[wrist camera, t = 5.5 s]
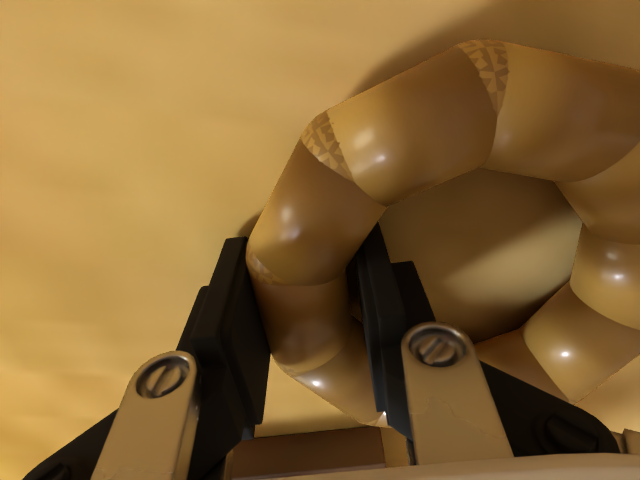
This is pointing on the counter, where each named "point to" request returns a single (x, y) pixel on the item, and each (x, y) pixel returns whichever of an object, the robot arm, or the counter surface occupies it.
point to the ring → (442, 165)
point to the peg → (309, 454)
